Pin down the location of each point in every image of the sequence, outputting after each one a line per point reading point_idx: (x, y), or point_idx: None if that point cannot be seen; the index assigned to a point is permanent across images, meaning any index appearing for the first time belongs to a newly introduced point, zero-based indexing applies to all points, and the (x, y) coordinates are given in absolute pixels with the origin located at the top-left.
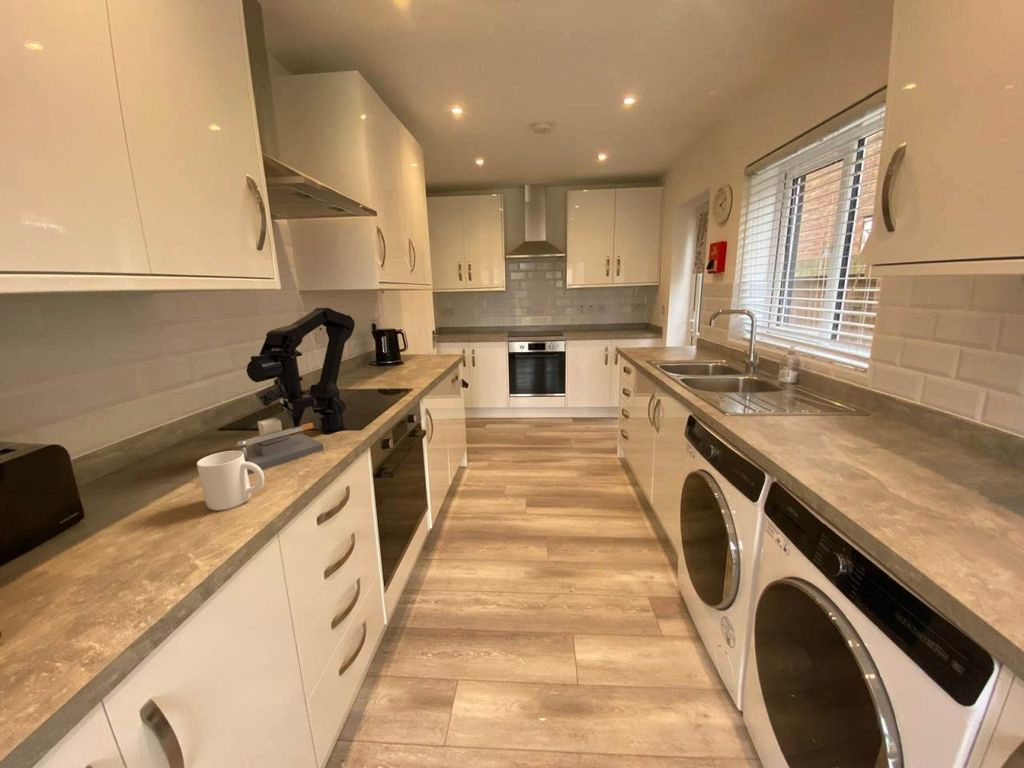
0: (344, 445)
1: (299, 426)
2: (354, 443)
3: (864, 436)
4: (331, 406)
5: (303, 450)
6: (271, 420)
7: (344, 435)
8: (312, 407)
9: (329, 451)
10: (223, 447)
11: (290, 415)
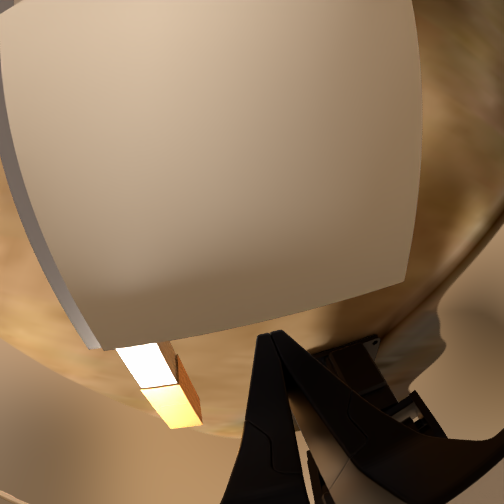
0: (118, 380)
1: (150, 376)
2: (122, 400)
3: (8, 499)
4: (320, 483)
5: (43, 265)
6: (234, 207)
7: (238, 393)
8: (412, 426)
9: (75, 336)
10: (481, 12)
11: (285, 429)
